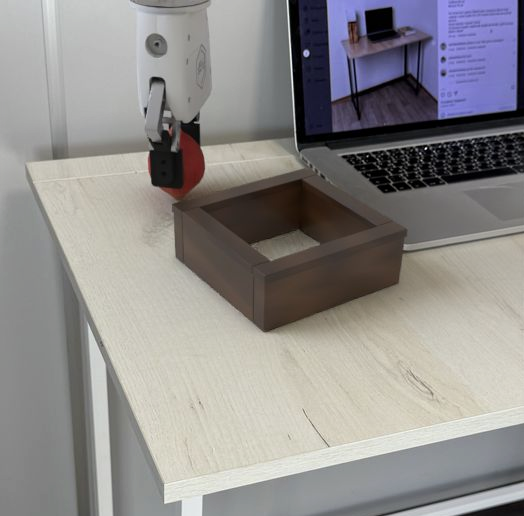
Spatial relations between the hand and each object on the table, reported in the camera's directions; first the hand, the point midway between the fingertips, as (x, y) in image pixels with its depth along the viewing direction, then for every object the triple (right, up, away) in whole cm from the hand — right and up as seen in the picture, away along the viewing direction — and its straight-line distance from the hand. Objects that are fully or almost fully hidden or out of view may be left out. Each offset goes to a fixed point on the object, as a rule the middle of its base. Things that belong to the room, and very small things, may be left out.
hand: (176, 171), depth 90 cm
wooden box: (+11, -11, -10) cm, 18 cm away
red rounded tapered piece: (0, -3, +2) cm, 3 cm away
